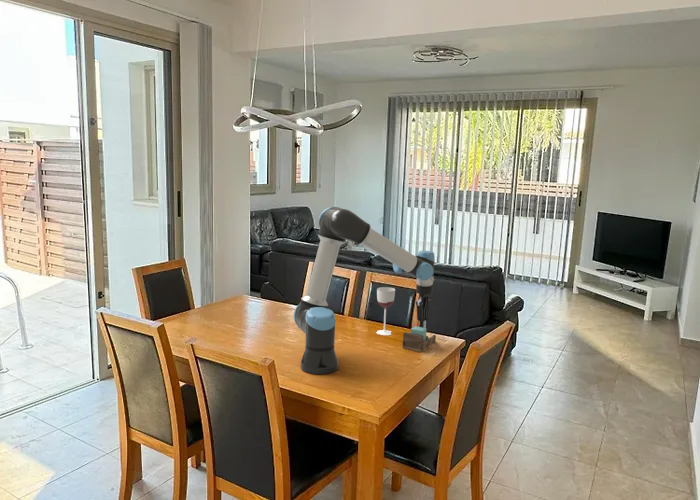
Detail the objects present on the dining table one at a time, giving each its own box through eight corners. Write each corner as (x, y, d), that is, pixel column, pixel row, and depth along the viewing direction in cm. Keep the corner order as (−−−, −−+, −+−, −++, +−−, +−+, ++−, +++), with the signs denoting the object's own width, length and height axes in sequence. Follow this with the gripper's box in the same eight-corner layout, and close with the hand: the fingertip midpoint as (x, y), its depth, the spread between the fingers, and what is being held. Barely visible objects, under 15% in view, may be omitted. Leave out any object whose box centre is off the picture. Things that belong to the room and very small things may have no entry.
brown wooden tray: (420, 352, 226) (421, 336, 225) (402, 348, 231) (403, 333, 230) (435, 342, 241) (436, 327, 240) (418, 338, 245) (418, 324, 244)
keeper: (421, 346, 231) (422, 331, 229) (410, 343, 233) (410, 328, 232) (425, 343, 235) (426, 328, 234) (414, 340, 238) (415, 326, 237)
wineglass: (372, 333, 251) (373, 289, 248) (380, 328, 259) (382, 286, 256) (388, 336, 247) (390, 292, 244) (396, 331, 255) (398, 288, 252)
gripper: (426, 288, 226) (423, 339, 230) (437, 283, 237) (434, 332, 241) (411, 285, 230) (408, 336, 234) (422, 281, 241) (420, 329, 245)
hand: (421, 334), depth 237 cm, fingers closed
